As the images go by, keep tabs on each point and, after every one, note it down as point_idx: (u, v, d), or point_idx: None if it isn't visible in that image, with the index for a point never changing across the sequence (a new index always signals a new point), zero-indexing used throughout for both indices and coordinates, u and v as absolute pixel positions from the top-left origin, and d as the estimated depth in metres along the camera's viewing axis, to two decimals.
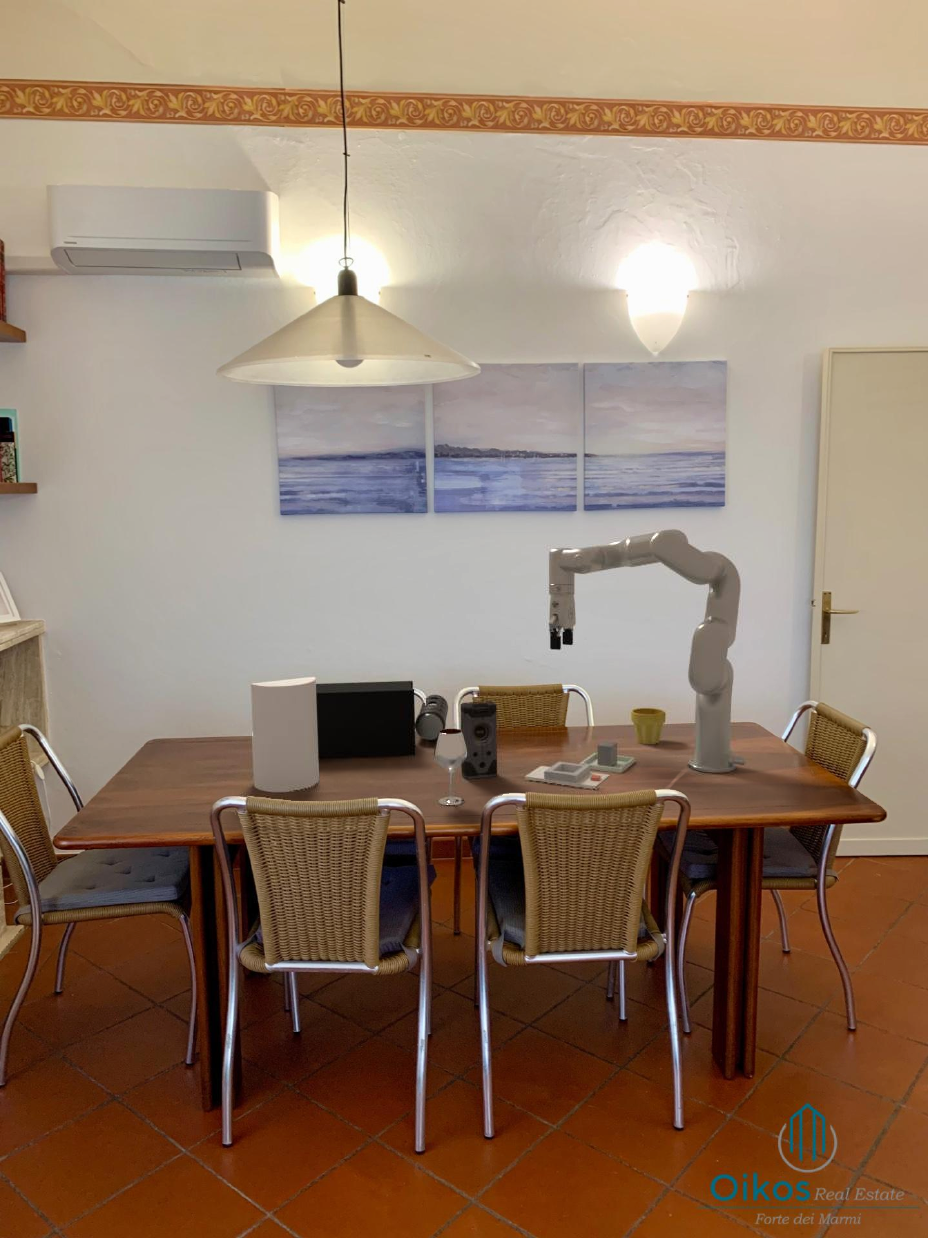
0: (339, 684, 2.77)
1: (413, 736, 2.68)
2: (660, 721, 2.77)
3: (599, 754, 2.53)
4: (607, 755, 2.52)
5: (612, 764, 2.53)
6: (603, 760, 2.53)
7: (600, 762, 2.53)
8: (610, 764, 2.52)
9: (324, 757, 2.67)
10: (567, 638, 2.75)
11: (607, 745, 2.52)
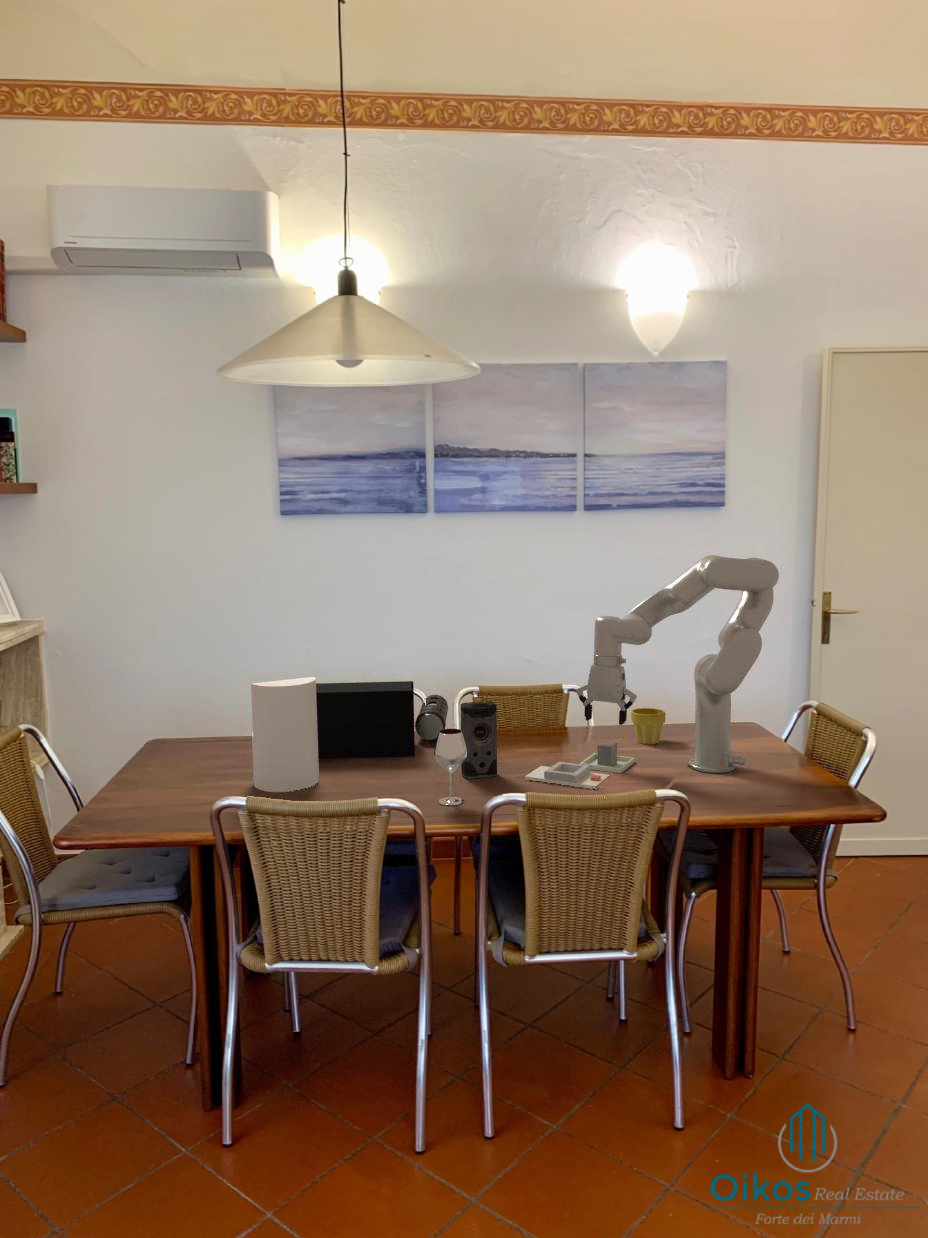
0: (340, 684, 2.77)
1: (412, 736, 2.68)
2: (660, 721, 2.77)
3: (599, 754, 2.53)
4: (607, 755, 2.52)
5: (612, 764, 2.53)
6: (603, 760, 2.53)
7: (600, 762, 2.53)
8: (610, 764, 2.52)
9: (323, 757, 2.68)
10: (590, 712, 2.55)
11: (607, 745, 2.52)
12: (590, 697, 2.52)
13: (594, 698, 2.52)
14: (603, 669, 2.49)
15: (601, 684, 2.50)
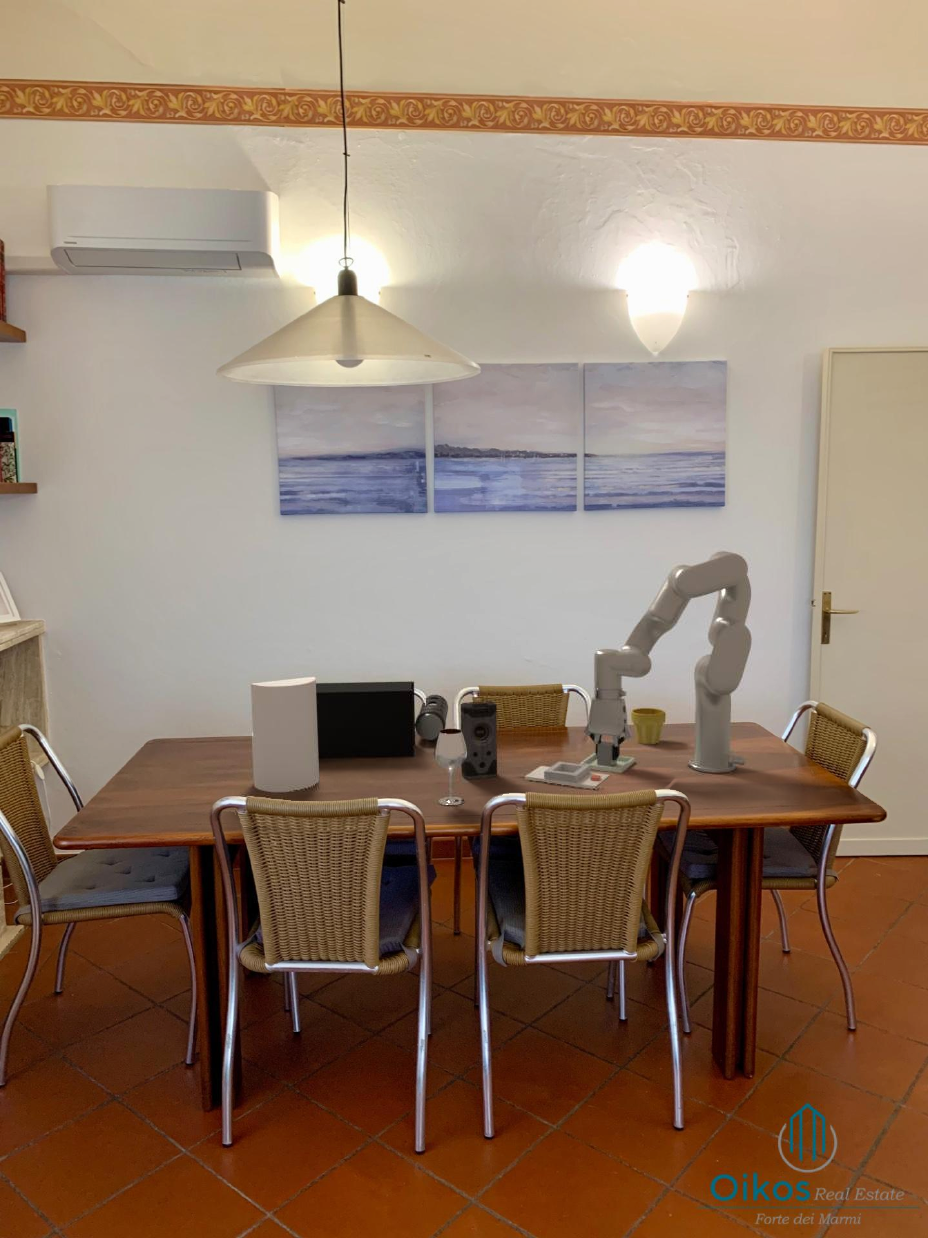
0: (340, 684, 2.77)
1: (411, 737, 2.67)
2: (660, 721, 2.77)
3: (599, 753, 2.53)
4: (607, 754, 2.51)
5: (612, 763, 2.52)
6: (603, 759, 2.52)
7: (600, 761, 2.53)
8: (610, 763, 2.51)
9: (323, 756, 2.68)
10: None
11: (607, 744, 2.52)
12: (592, 730, 2.54)
13: (596, 731, 2.53)
14: (604, 702, 2.50)
15: (602, 717, 2.51)
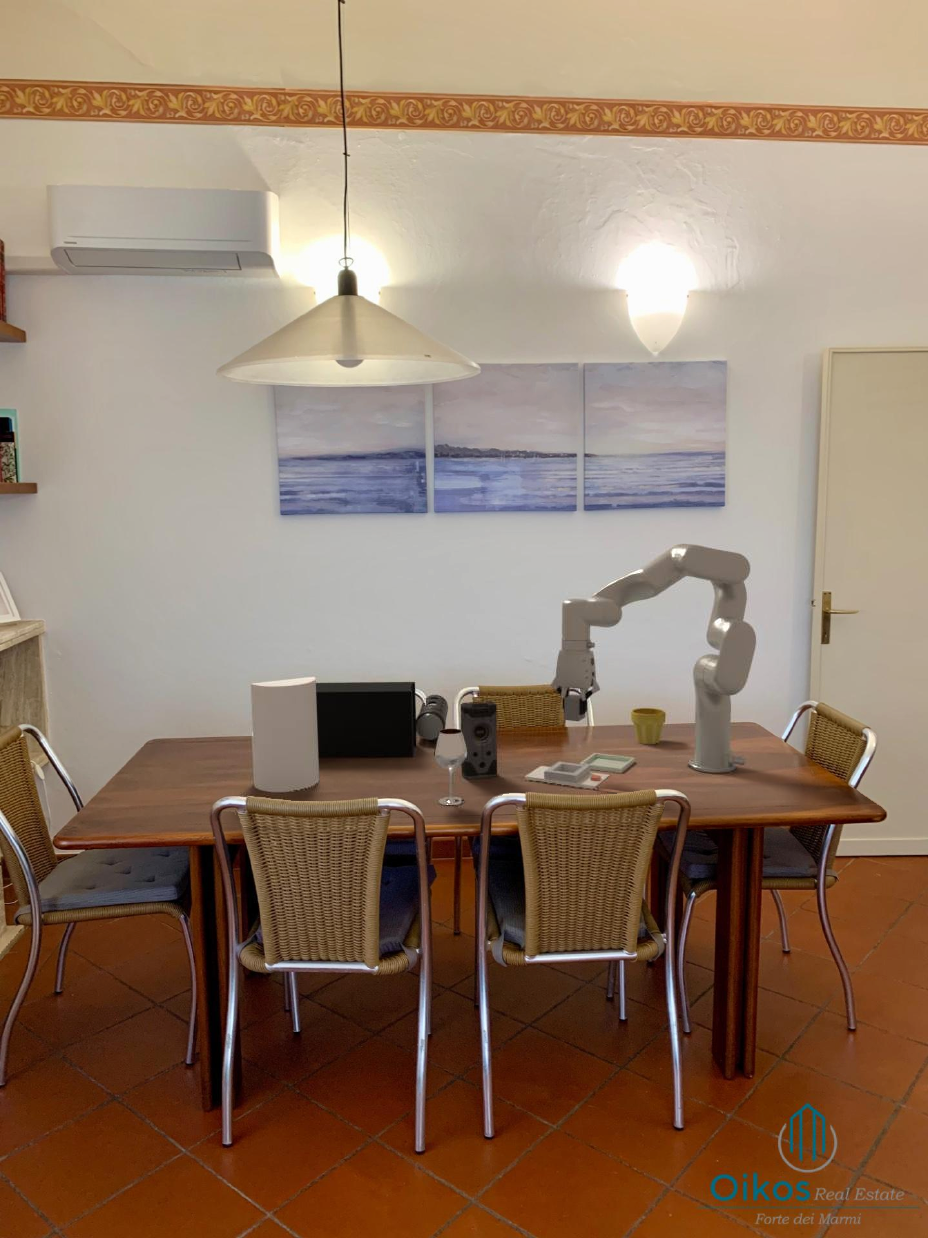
0: (341, 684, 2.78)
1: (410, 737, 2.67)
2: (660, 721, 2.77)
3: (566, 707, 2.43)
4: (574, 708, 2.42)
5: (579, 717, 2.42)
6: (570, 713, 2.42)
7: (567, 715, 2.43)
8: (577, 717, 2.42)
9: (322, 756, 2.68)
10: None
11: (574, 698, 2.42)
12: (559, 683, 2.44)
13: (563, 684, 2.43)
14: (571, 654, 2.40)
15: (569, 669, 2.41)
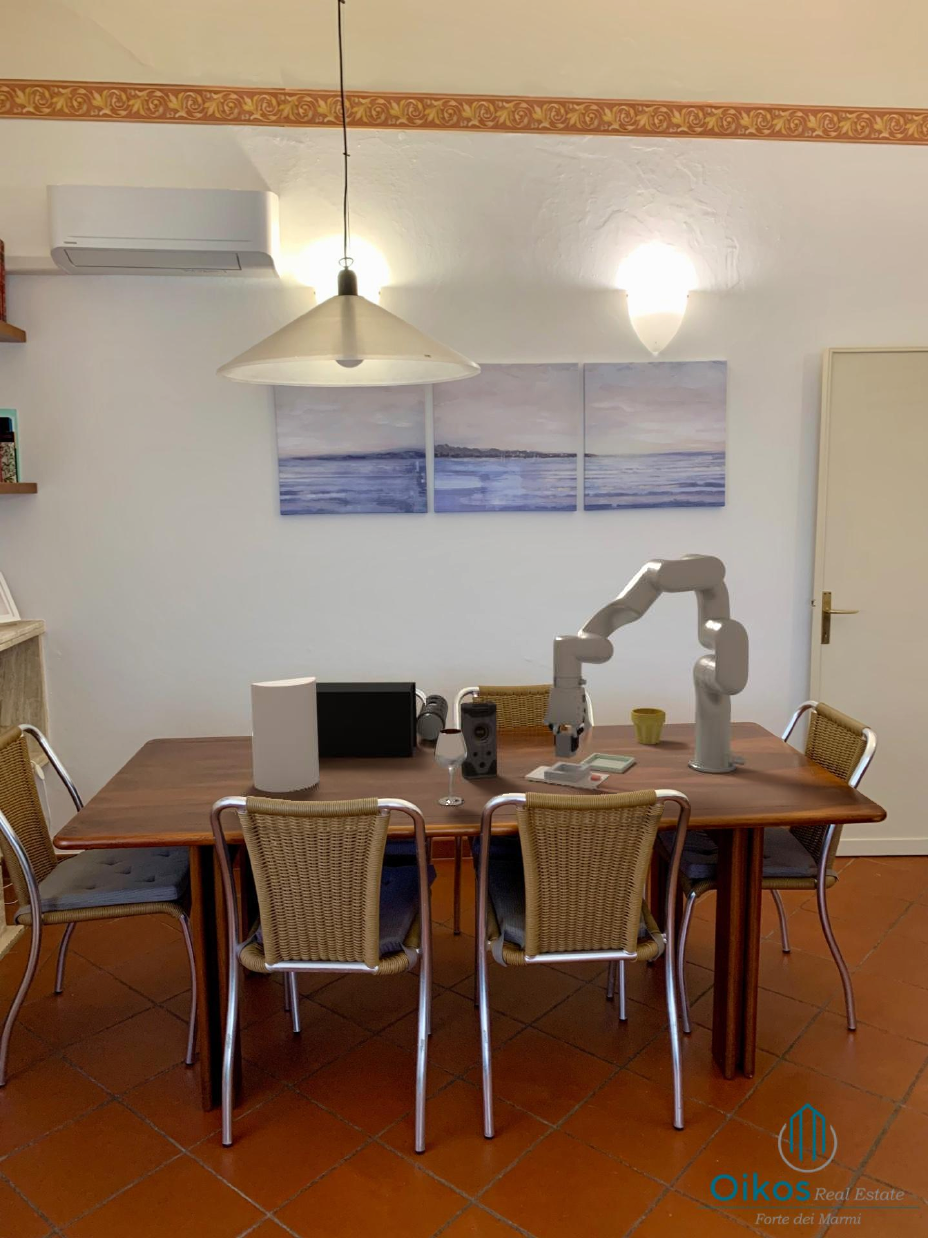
0: (342, 683, 2.78)
1: (409, 738, 2.66)
2: (660, 721, 2.77)
3: (557, 744, 2.42)
4: (565, 745, 2.41)
5: (570, 755, 2.41)
6: (561, 750, 2.41)
7: (558, 752, 2.42)
8: (568, 754, 2.40)
9: (321, 756, 2.69)
10: None
11: (566, 734, 2.41)
12: (550, 720, 2.43)
13: (554, 721, 2.42)
14: (563, 691, 2.39)
15: (561, 706, 2.40)
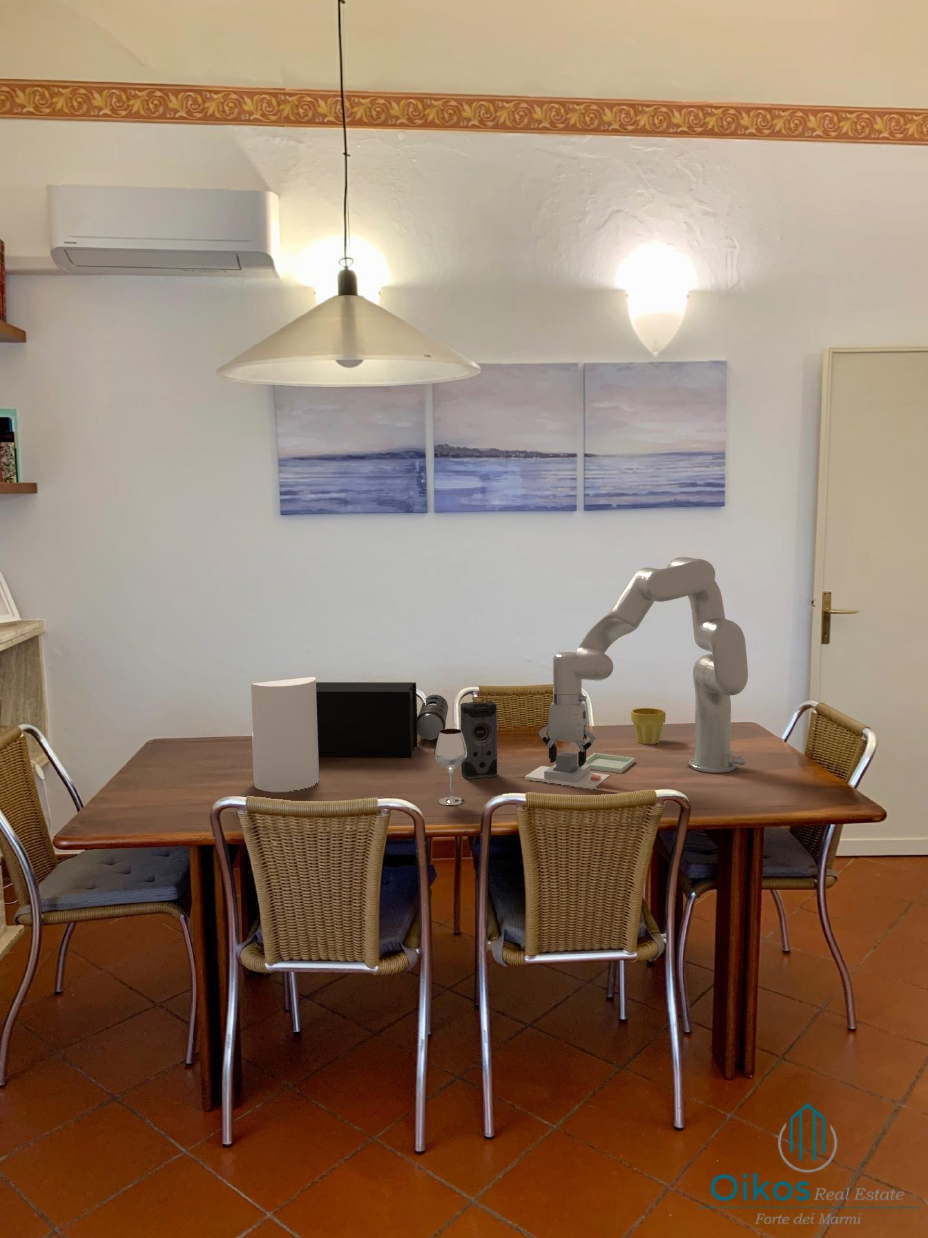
0: (342, 683, 2.78)
1: (408, 738, 2.66)
2: (660, 721, 2.77)
3: (558, 765, 2.42)
4: (566, 766, 2.41)
5: None
6: (562, 771, 2.42)
7: None
8: None
9: (321, 755, 2.69)
10: (554, 754, 2.46)
11: (566, 756, 2.42)
12: (551, 736, 2.43)
13: (555, 737, 2.43)
14: (563, 708, 2.40)
15: (561, 723, 2.41)
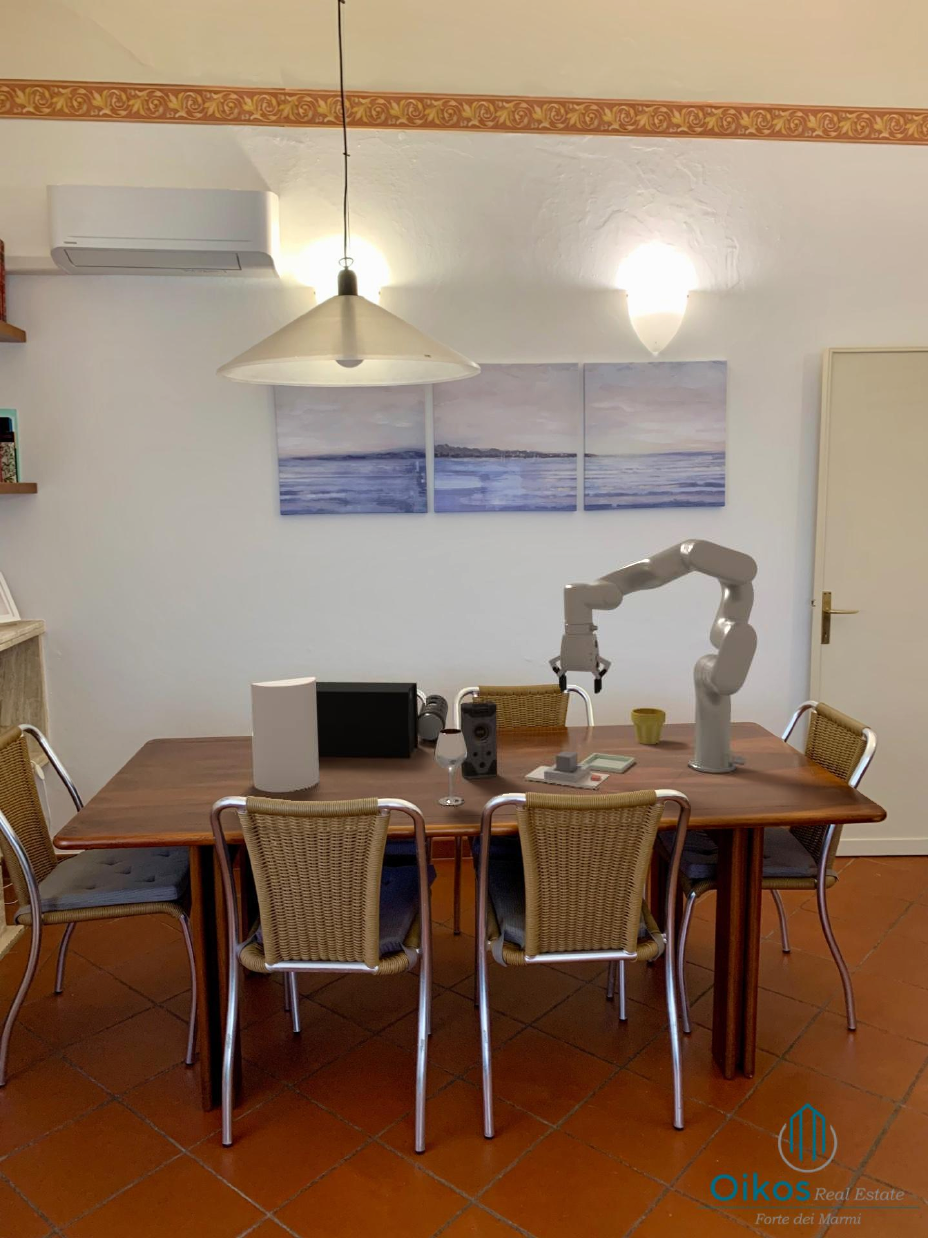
0: (343, 683, 2.78)
1: (407, 739, 2.65)
2: (660, 721, 2.77)
3: (558, 765, 2.42)
4: (566, 766, 2.41)
5: None
6: (562, 771, 2.42)
7: None
8: None
9: (321, 755, 2.70)
10: (564, 683, 2.49)
11: (566, 756, 2.42)
12: (563, 667, 2.46)
13: (568, 668, 2.46)
14: (575, 638, 2.43)
15: (574, 653, 2.44)
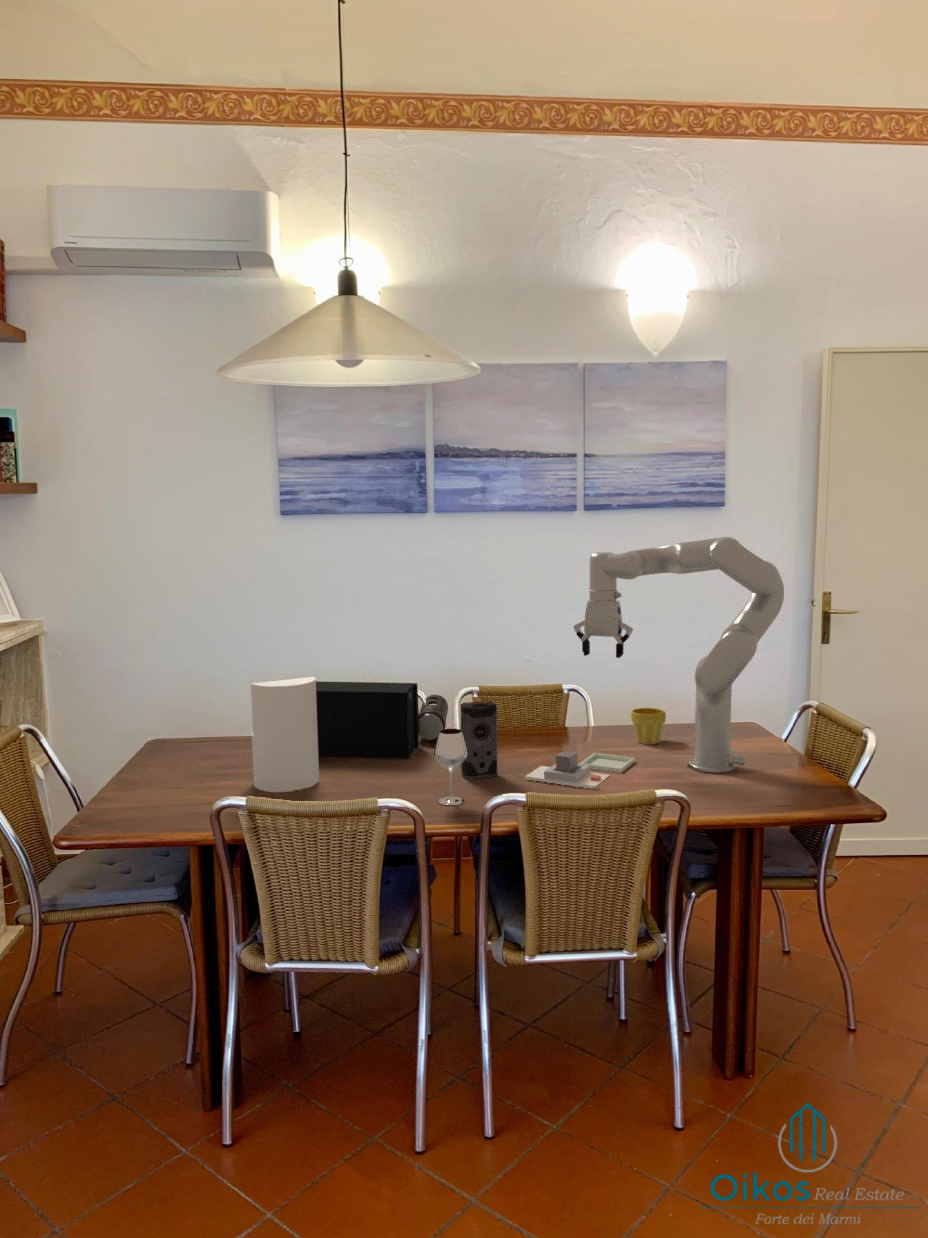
0: (344, 683, 2.79)
1: (406, 739, 2.65)
2: (660, 721, 2.77)
3: (558, 765, 2.42)
4: (566, 766, 2.41)
5: None
6: (562, 771, 2.42)
7: None
8: None
9: (320, 754, 2.70)
10: (588, 648, 2.61)
11: (566, 756, 2.42)
12: (587, 632, 2.58)
13: (591, 633, 2.58)
14: (599, 604, 2.55)
15: (598, 618, 2.56)
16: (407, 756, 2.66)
